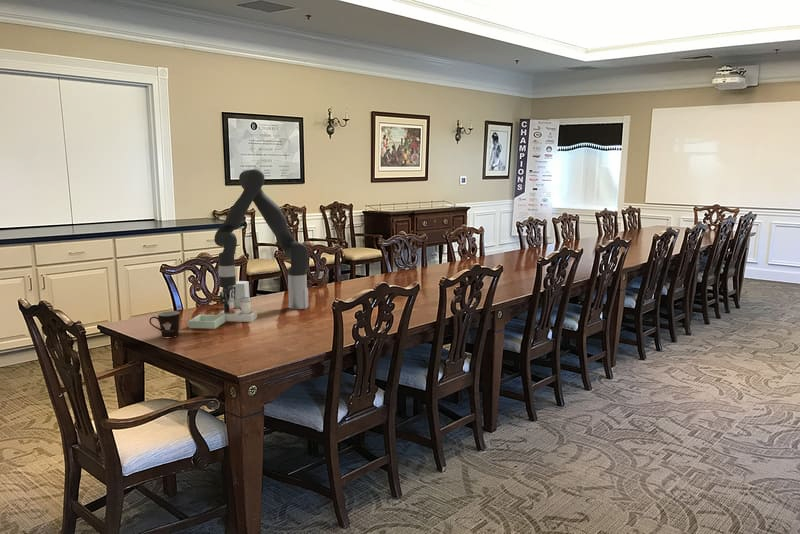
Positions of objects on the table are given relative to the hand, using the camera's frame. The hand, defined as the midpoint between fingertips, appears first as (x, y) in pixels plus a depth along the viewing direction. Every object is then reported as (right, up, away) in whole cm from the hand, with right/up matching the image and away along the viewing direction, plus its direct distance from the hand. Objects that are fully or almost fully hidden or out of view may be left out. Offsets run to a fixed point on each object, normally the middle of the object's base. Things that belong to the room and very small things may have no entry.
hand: (228, 310), depth 287 cm
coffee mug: (-20, -9, -24) cm, 32 cm away
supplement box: (-2, 0, +30) cm, 30 cm away
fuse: (+8, -4, 0) cm, 9 cm away
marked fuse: (0, -4, +1) cm, 4 cm away
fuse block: (+4, -5, 0) cm, 6 cm away
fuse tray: (-7, -7, -9) cm, 13 cm away
